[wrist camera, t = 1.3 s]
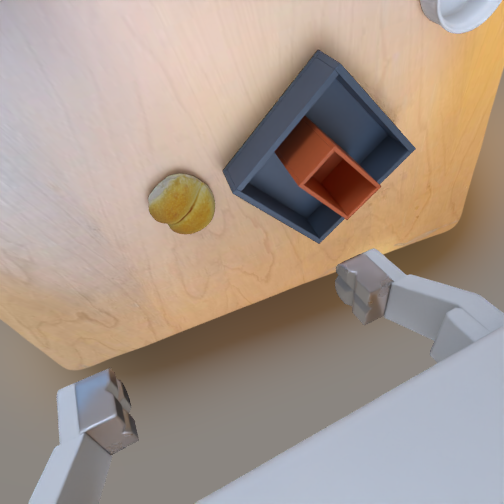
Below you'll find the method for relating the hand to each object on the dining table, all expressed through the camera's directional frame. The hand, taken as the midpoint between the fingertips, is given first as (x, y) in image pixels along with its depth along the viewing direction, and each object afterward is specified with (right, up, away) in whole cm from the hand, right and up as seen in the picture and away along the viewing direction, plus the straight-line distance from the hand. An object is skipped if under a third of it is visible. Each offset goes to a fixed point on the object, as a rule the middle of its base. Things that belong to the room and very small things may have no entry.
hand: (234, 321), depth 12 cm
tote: (+9, +16, +38) cm, 43 cm away
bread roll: (-9, +10, +38) cm, 41 cm away
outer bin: (+9, +17, +39) cm, 43 cm away
